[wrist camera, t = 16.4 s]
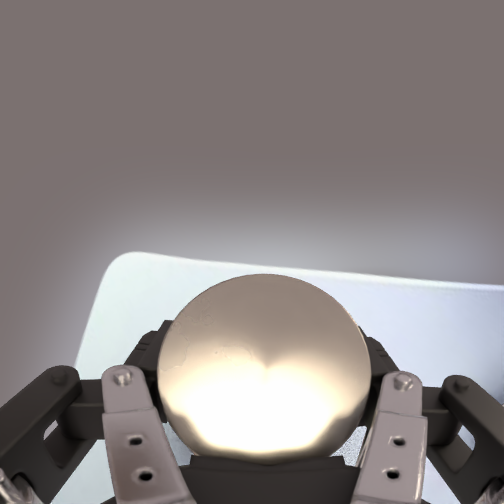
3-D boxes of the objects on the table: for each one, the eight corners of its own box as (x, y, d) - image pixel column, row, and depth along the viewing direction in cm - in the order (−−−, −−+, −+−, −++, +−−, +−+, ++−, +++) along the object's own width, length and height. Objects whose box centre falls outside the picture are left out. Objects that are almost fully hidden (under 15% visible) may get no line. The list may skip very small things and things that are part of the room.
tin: (188, 438, 14) (132, 444, 7) (214, 338, 18) (190, 256, 10) (300, 461, 14) (355, 487, 6) (318, 358, 17) (377, 291, 9)
